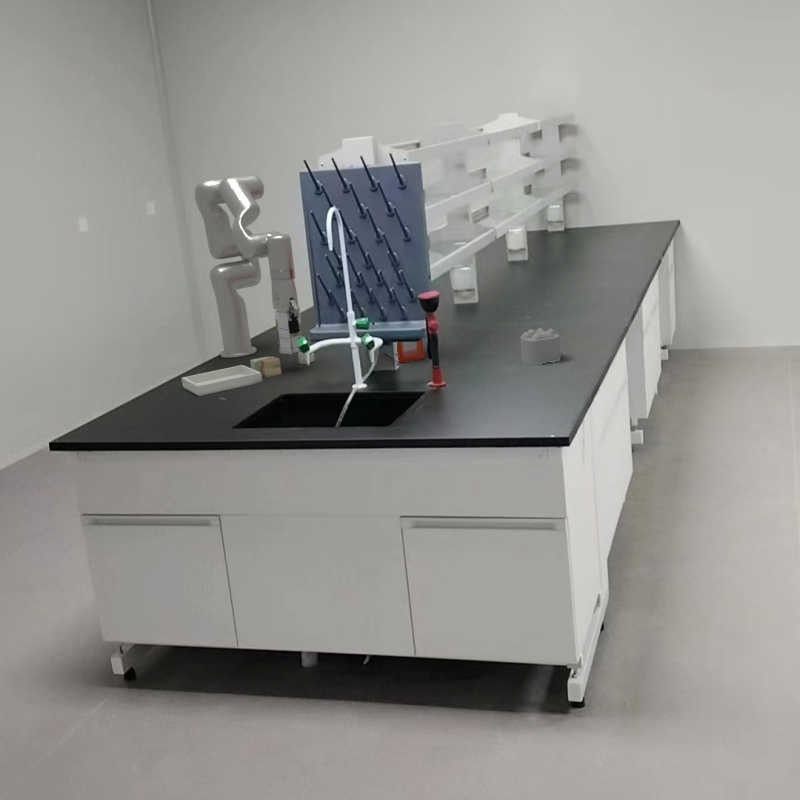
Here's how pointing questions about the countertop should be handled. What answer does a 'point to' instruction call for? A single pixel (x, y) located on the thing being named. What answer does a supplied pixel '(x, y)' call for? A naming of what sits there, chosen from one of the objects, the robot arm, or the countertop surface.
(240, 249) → the robot arm
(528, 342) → the lumpy-topped squat cylinder
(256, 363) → the sage block
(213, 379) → the grey tray
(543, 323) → the countertop surface
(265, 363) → the beech cube
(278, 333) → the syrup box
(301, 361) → the pale grey block
